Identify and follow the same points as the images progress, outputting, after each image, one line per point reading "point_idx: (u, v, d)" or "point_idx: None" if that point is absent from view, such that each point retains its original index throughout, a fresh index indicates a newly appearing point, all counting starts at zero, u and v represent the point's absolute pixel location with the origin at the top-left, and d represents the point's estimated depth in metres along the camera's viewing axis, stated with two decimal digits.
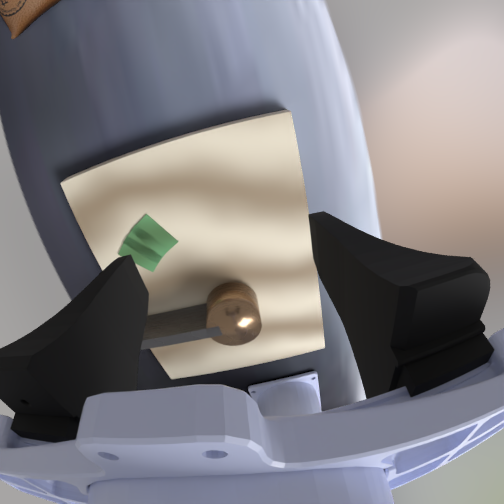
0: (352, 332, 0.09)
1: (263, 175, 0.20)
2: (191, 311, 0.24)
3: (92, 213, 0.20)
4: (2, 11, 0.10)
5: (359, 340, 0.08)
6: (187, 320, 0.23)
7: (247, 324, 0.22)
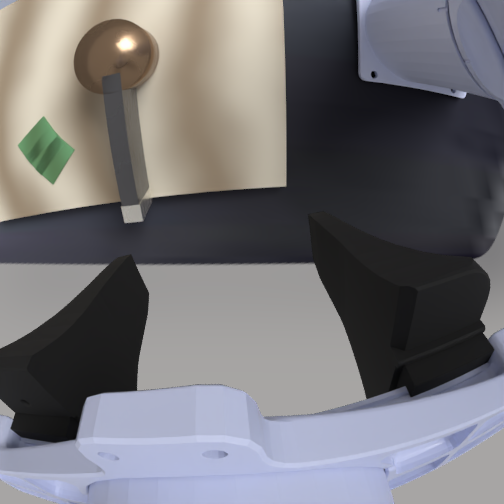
0: (352, 332, 0.09)
1: (2, 38, 0.11)
2: None
3: (18, 199, 0.18)
4: None
5: (359, 340, 0.08)
6: None
7: (107, 37, 0.11)
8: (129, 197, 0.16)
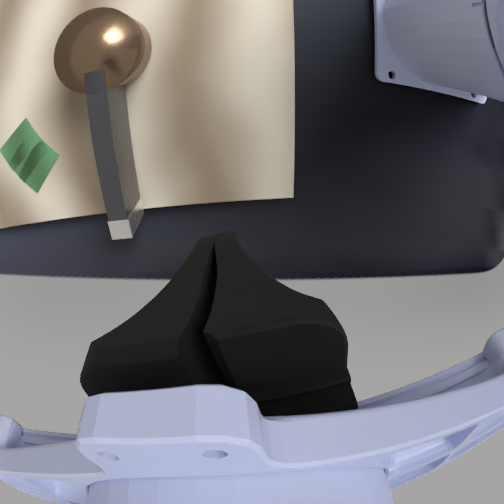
0: None
1: None
2: None
3: (2, 208, 0.16)
4: None
5: None
6: None
7: (90, 28, 0.09)
8: (116, 211, 0.14)
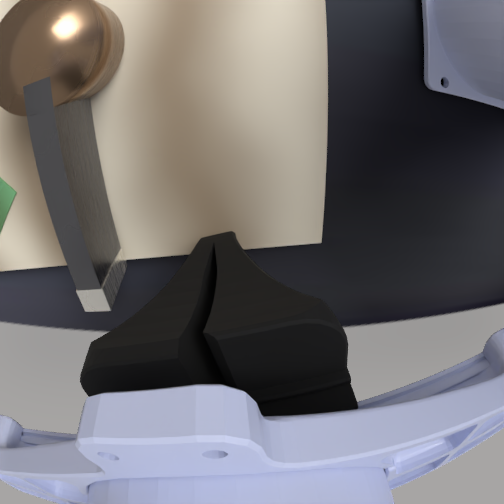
0: None
1: None
2: None
3: None
4: None
5: None
6: None
7: (31, 20, 0.05)
8: (85, 278, 0.10)
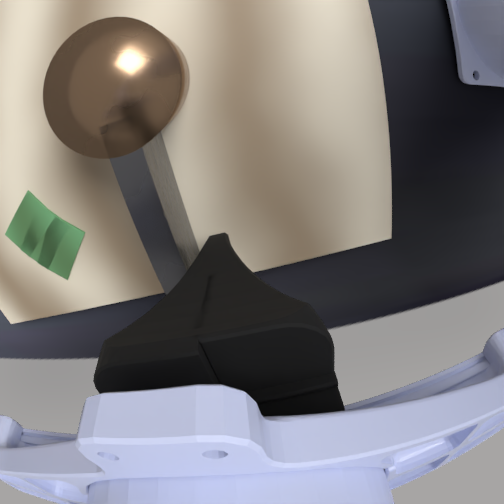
0: None
1: None
2: None
3: (26, 298, 0.14)
4: None
5: None
6: None
7: (94, 54, 0.06)
8: None
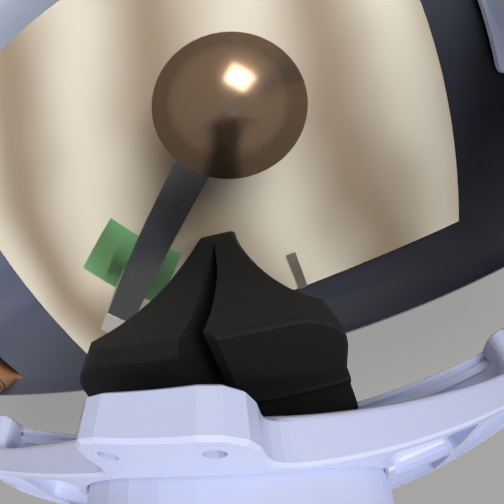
0: None
1: None
2: None
3: None
4: (2, 387, 0.18)
5: None
6: None
7: (249, 71, 0.07)
8: (124, 310, 0.10)
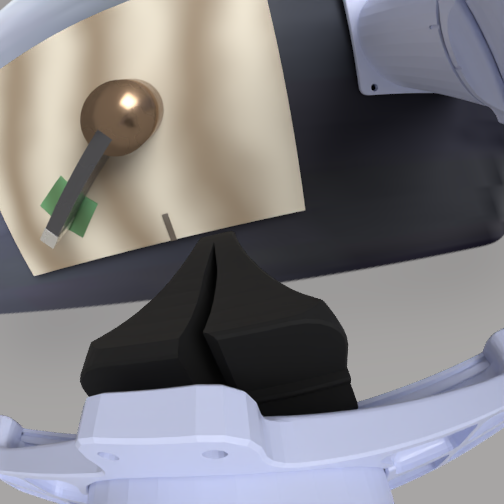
0: None
1: (0, 104, 0.14)
2: None
3: (50, 253, 0.20)
4: None
5: None
6: None
7: (126, 101, 0.13)
8: (54, 227, 0.16)
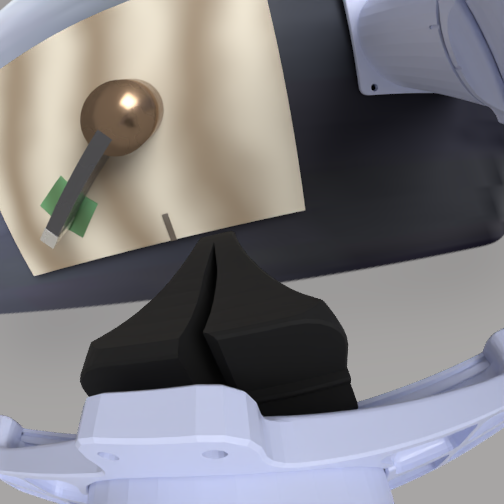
0: None
1: (0, 104, 0.14)
2: None
3: (50, 253, 0.20)
4: None
5: None
6: None
7: (126, 101, 0.13)
8: (54, 227, 0.16)
